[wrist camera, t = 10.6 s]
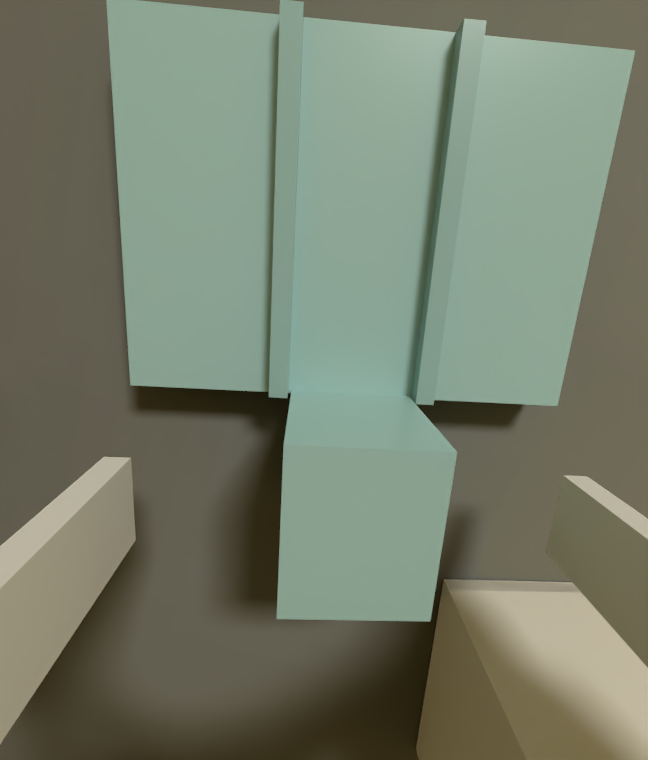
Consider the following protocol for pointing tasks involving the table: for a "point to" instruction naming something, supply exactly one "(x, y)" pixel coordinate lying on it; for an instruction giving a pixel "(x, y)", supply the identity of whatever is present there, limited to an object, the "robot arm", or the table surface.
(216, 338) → the lid
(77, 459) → the table surface
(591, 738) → the tub
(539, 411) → the table surface
